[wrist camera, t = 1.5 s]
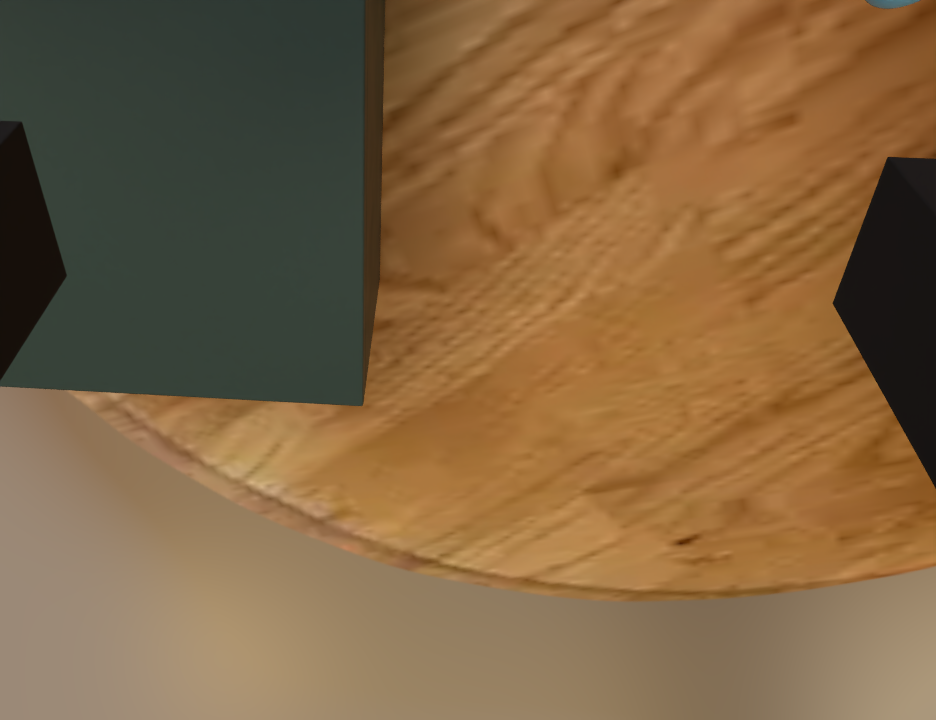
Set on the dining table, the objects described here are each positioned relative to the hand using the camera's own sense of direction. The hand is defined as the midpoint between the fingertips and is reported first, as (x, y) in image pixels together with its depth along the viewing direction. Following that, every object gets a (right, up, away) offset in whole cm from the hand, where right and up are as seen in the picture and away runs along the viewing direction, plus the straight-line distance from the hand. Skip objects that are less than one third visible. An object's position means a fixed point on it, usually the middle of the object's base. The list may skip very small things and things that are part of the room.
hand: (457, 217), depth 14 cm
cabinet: (-10, +9, +20) cm, 25 cm away
